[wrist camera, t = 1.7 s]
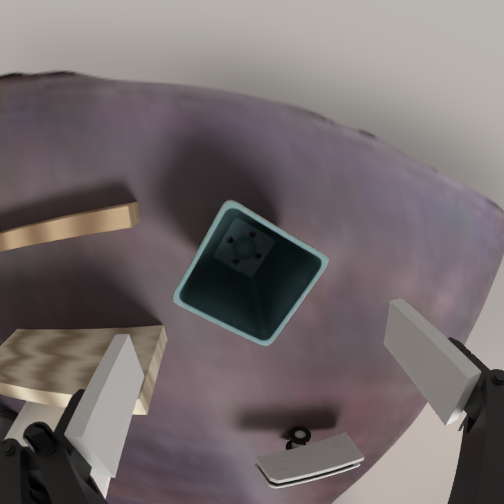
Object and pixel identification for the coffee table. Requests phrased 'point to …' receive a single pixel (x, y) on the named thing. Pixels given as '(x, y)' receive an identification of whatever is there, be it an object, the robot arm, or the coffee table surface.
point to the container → (51, 417)
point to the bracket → (308, 459)
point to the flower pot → (249, 275)
